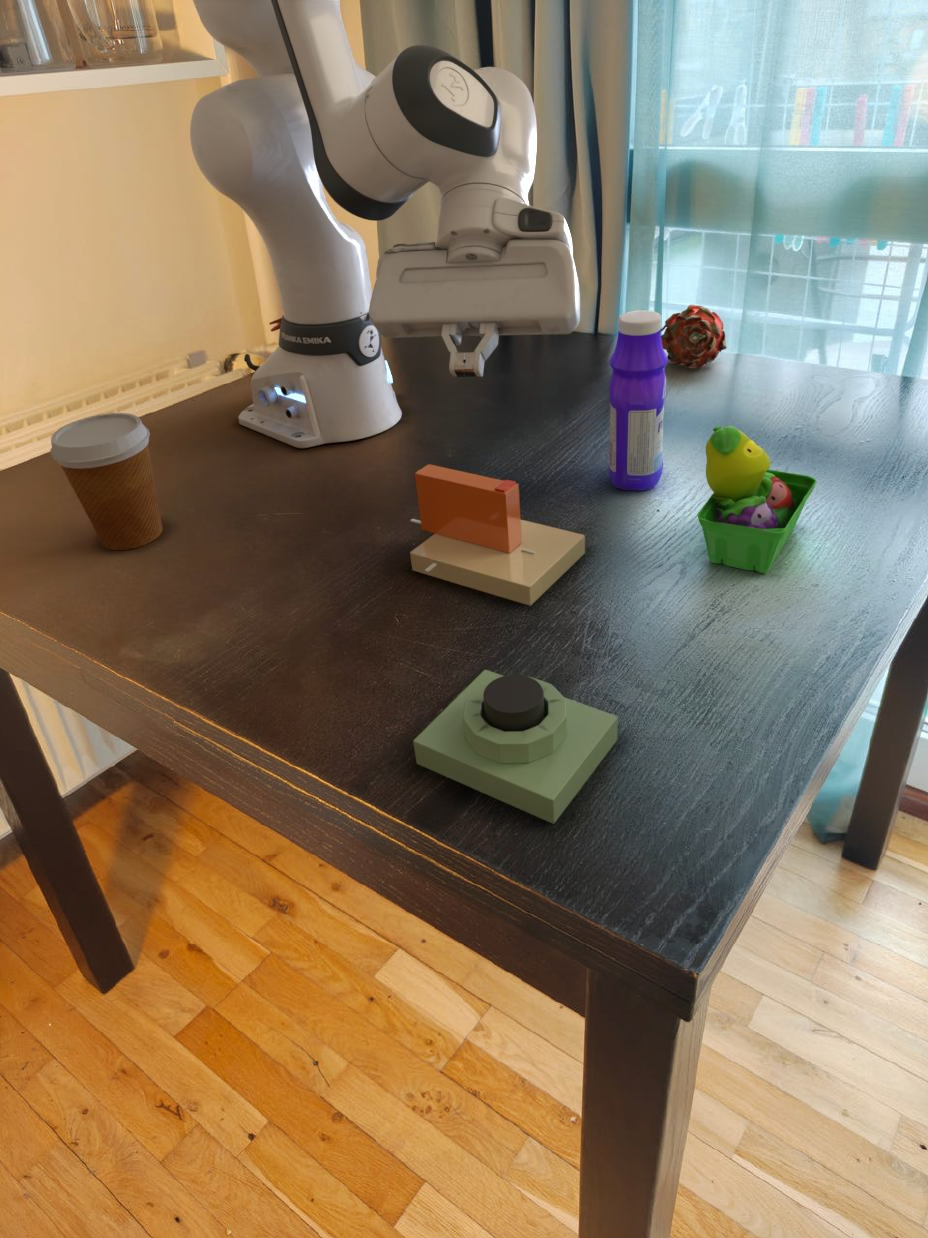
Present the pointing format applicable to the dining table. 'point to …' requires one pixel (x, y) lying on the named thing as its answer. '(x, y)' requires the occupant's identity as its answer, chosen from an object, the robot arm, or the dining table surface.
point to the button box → (519, 750)
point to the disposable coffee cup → (111, 476)
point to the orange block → (469, 507)
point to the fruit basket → (748, 502)
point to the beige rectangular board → (502, 562)
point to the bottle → (637, 402)
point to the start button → (514, 703)
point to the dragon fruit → (693, 337)
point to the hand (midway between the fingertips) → (465, 374)
